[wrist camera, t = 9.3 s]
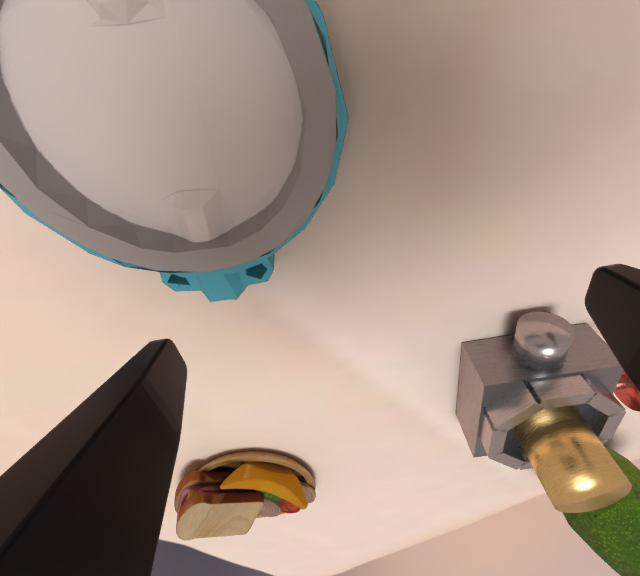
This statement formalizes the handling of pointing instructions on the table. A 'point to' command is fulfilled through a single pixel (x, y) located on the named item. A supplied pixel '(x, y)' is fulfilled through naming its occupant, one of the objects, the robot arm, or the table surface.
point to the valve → (538, 384)
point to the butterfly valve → (171, 130)
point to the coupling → (571, 461)
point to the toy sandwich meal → (240, 493)
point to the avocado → (614, 525)
